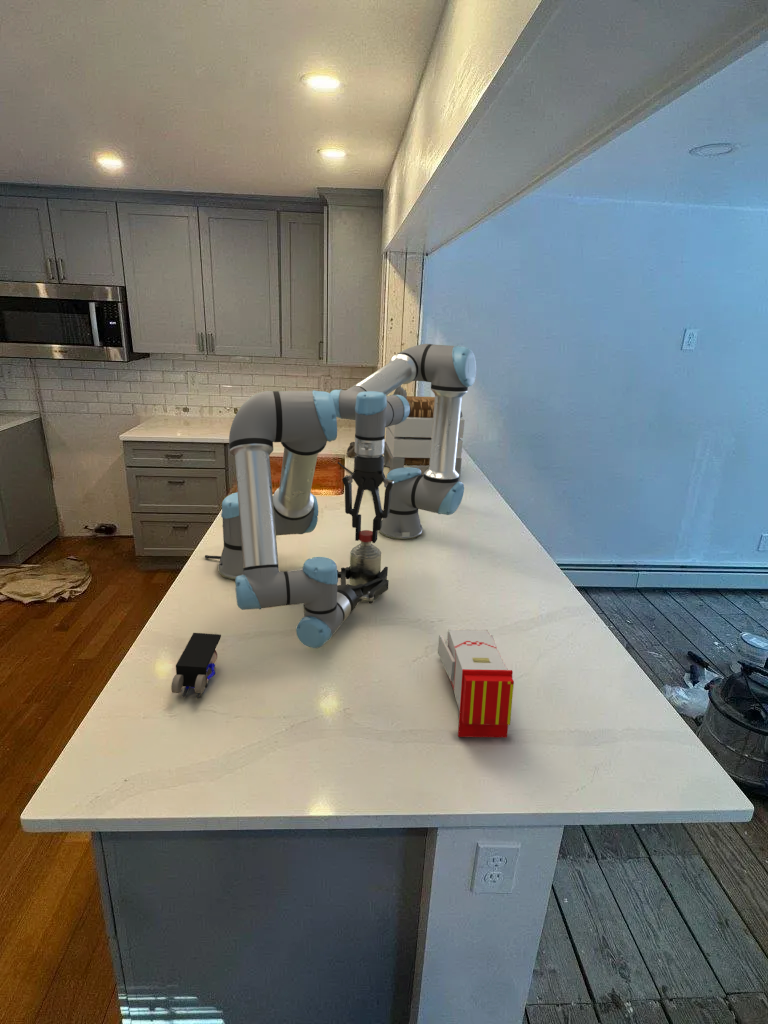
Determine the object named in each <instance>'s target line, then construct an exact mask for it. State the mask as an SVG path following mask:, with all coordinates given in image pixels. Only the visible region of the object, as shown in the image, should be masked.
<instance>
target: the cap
mask: <svg viewBox="0 0 768 1024" xmlns="http://www.w3.org/2000/svg"><path fill="white" fill-rule="evenodd" d="M372 536H373V530H369V529H364V530H363V529H362V530H361V531H360V532H359V540H358V541H359V542H360V543H361V542H371V543H372Z"/></svg>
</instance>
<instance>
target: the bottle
mask: <svg viewBox="0 0 768 1024" xmlns="http://www.w3.org/2000/svg"><path fill="white" fill-rule="evenodd" d="M349 566H350V578H349V584H350V585H353V586H356V585H359V584H365V583H368V582H370V581H373V580H375V579H377V576H378V575H379V573H380V572H381V571H382V570H381V569H382V567H381V566H382V551H381V550H380V548H379V547H377V546H375V545H374V543H372V542H361V541H360V543H359V544H357V545H355V546H354V547H352V548H351V550H350V555H349ZM379 597H380V596H379ZM379 597H377V598H376V599H375V600H374V601H376V600H378V599H379ZM360 603H368V601H367V600H362V601H361V602H360Z"/></svg>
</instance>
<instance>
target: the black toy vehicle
mask: <svg viewBox="0 0 768 1024" xmlns="http://www.w3.org/2000/svg"><path fill="white" fill-rule="evenodd" d="M221 638H222V634H217V633H204V632H203V633H202V632H193V633H192V635H191V636H190V638H189V640H188V642H187V643H186V646H185V648H184V649H183V651H182V653H181V655H180V656H179V658H178V660H177V662H176V664H175V674H174V676H173V678H172V681H171V685H170V686H171V687H170V688H171V689H170V690H171V693H172V694H180V693H181V692H182V693H181V696H182V698H186V697H187V696H188V693H189V690H190V688H191V689H194V693H195V694H196V698H197V699H198V698H200V697H201V695H202V694H203V693H204V692H205V689H207V688H208V683H209V681H210V680H211V678H212V677H213V676H214V675H216V670H215V667H216V663H217V661H218V652H217V650H216V649H217V647H218V645H219V642H220V640H221ZM209 669H210V671H211V672H210V673H209V674H208V671H209ZM183 687H184V690H183ZM182 690H183V691H182Z"/></svg>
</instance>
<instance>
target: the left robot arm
mask: <svg viewBox="0 0 768 1024" xmlns="http://www.w3.org/2000/svg"><path fill="white" fill-rule="evenodd" d="M337 420H338V419H337V417H336V411H335V406H334V401H333V398H332V396H331V395H330V392H328V391H325V390H324V391H321V390H316V389H313V390H264V391H259V392H256V393H255V394H253V395H251V396H250V397H249V398H247V399H246V400H245V401H244V402H243V403H242V404H241V406H240V407H239V408H238V411H237V412H236V414H235V415H234V417H233V420H232V423H231V425H230V429H229V436H228V444H229V445H228V448H229V453H230V455H232V456H233V457H234V465H235V476H236V477H235V478H236V488H237V492H233V493H231V494H229V495H227V496H225V498H224V499H223V500H222V502H221V513H220V514H221V516H220V517H221V518H222V541H223V548H222V551H221V554H220V555H207V554H205V555H204V558H205V559H210V560H219V562H218V573H219V574H220V576H221V577H223V578H225V579H228V580H232V581H234V583H235V598H236V600H235V601H236V605H237V607H238V608H239V610H242V611H245V610H246V611H248V610H262V609H268V608H276V607H277V608H278V607H282V606H283V607H286V606H295V605H303V616H302V618H301V619H300V620H299V622H298V623H297V625H296V627H295V633H296V637H297V639H298V640H299V642H300V643H301V644H302V645H303V646H305V647H307V648H310V649H319V648H321V647H323V646H324V645H325V644H326V643H327V642H329V640H331V638H332V637H333V635H334V634H335V633H336V632H337V631H338V629H339V628H340V627H341V626H342V624H343V623H344V622H345V621H346V619H348V617H349V616H350V615H351V614H352V613H353V611H355V609H356V608H357V606H358V604H359V603H362V602H361V601H362V600H367V601H368V602H367V603H368V604H369V605H372V604H374V603H375V602H374V600H375V599H376V598H377V597H380V596H381V595H383V594H384V593H386V592H387V591H388V590H389V585H390V583H389V579H388V576H389V575H388V573H389V566H384V568H383V569H382V570H380V573H379V575H378V576H377V579H375V580H373V581H370V582H368V583H365V584H359V585H356V586H353V585H350V583H347V580H350V565H349V566H346V567H341V568H340V571H339V569H338V566H337V563H336V561H334V560H333V559H331V558H329V557H325V556H314V557H312V558H308V559H306V560H305V561H304V562H303V566H302V569H293V570H284V571H283V570H282V571H281V570H280V567H279V555H278V545H277V536H287V535H289V536H290V535H304V534H310V533H312V532H313V531H314V530H315V529H316V528H317V525H318V516H319V504H318V499H317V497H316V496H315V495H314V494H313V493H312V486H313V482H314V478H315V477H314V476H315V471H316V466H317V460H318V457H319V454H320V453H321V452H323V450H324V449H325V448H326V446H327V442H329V443H330V442H333V441H336V440H337V438H338V421H337ZM274 443H280V444H281V445H282V447H283V455H282V463H281V472H280V478H279V479H280V480H279V487H278V488H276V490H274V493H273V483H272V472H271V471H272V470H271V460H270V459H271V458H270V455H272V453H273V452H274ZM339 579H340V584H339ZM376 600H377V599H376ZM376 600H375V601H376Z"/></svg>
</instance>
